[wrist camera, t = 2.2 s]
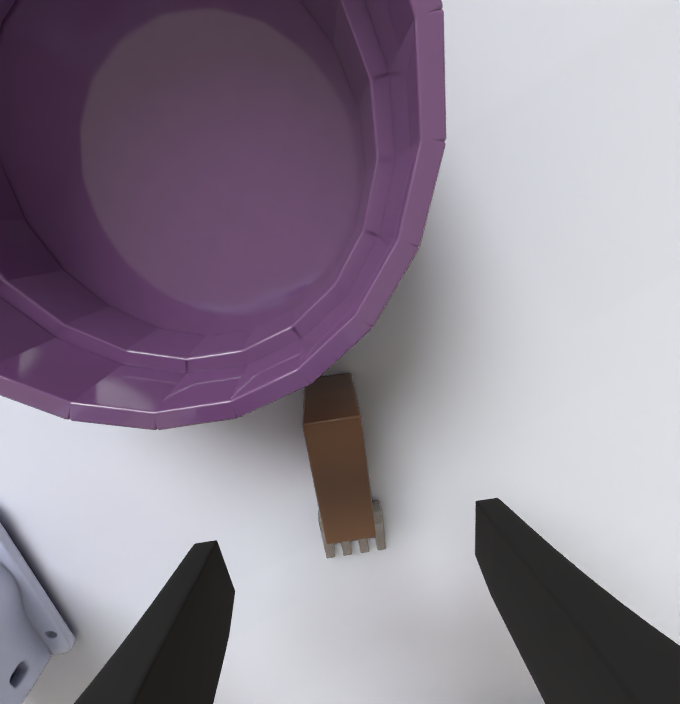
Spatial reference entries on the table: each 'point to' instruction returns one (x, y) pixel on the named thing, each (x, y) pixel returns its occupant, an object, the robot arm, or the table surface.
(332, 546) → the fork with wooden handle
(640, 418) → the table surface
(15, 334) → the bowl
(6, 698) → the robot arm
